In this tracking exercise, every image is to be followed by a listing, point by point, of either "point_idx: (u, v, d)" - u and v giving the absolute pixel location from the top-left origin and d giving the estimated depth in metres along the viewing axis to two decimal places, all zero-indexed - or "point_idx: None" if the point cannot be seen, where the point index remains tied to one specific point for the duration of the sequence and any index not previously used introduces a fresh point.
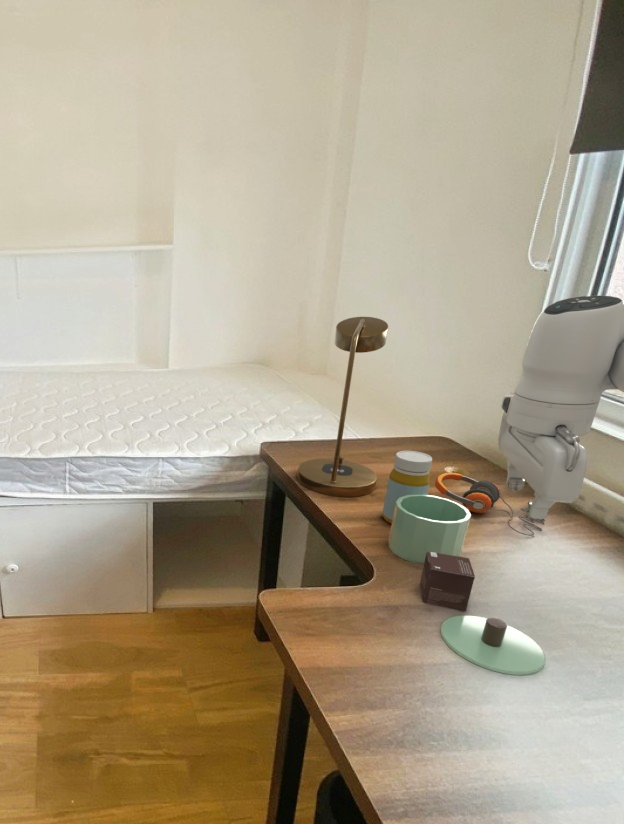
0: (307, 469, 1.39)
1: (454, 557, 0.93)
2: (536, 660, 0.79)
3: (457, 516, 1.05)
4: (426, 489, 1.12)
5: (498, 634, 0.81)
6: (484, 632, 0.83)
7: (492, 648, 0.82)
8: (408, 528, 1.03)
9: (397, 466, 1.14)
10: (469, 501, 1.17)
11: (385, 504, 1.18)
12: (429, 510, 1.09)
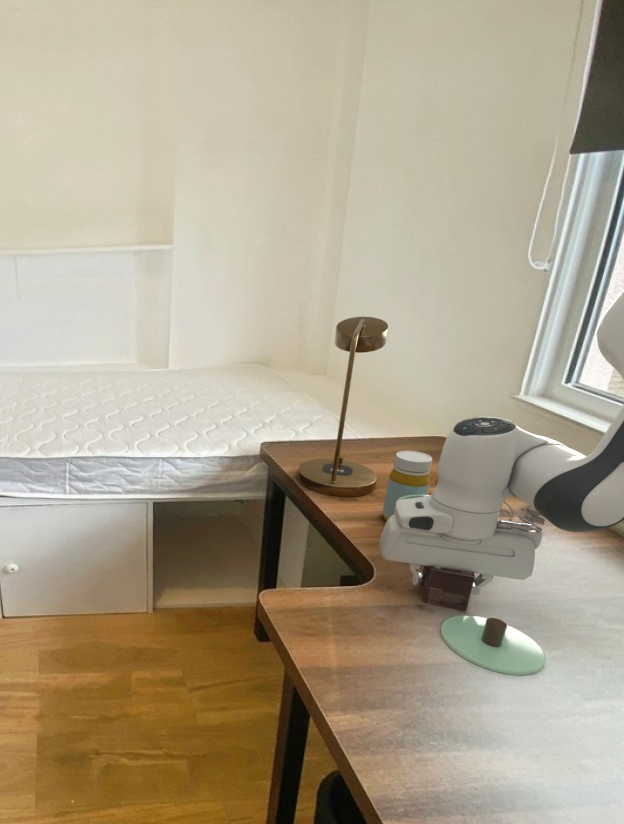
0: (307, 469, 1.39)
1: None
2: (536, 660, 0.79)
3: None
4: (426, 489, 1.12)
5: (498, 634, 0.81)
6: (484, 632, 0.83)
7: (492, 648, 0.82)
8: None
9: (397, 466, 1.14)
10: None
11: (385, 504, 1.18)
12: None
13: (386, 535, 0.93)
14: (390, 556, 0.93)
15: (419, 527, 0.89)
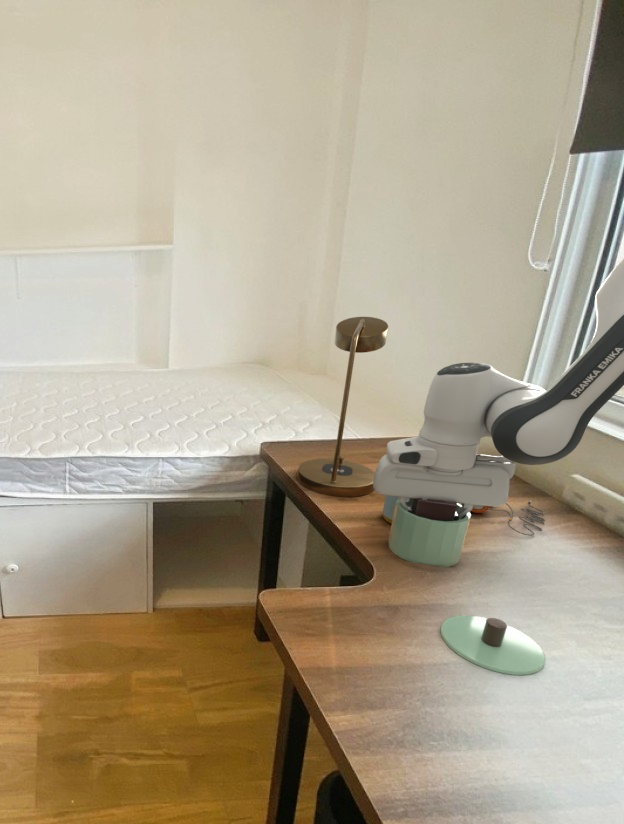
0: (307, 469, 1.39)
1: None
2: (536, 660, 0.79)
3: None
4: None
5: (498, 634, 0.81)
6: (484, 632, 0.83)
7: (492, 648, 0.82)
8: (408, 528, 1.03)
9: None
10: None
11: (385, 504, 1.18)
12: None
13: (379, 472, 1.05)
14: (382, 490, 1.05)
15: (408, 462, 1.00)
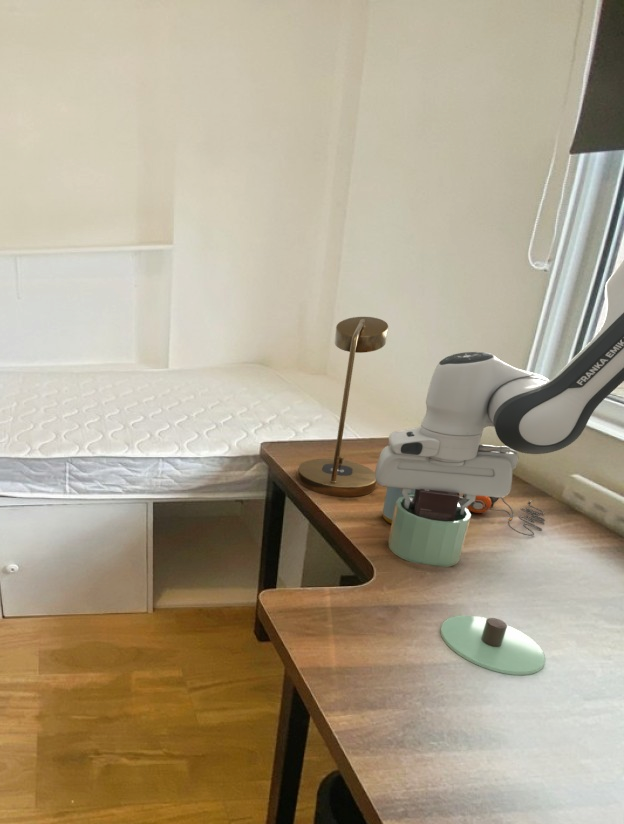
0: (307, 469, 1.39)
1: None
2: (536, 660, 0.79)
3: (457, 516, 1.05)
4: None
5: (498, 634, 0.81)
6: (484, 632, 0.83)
7: (492, 648, 0.82)
8: (408, 528, 1.03)
9: None
10: None
11: (385, 504, 1.18)
12: None
13: (380, 463, 1.04)
14: (384, 482, 1.04)
15: (410, 452, 0.99)
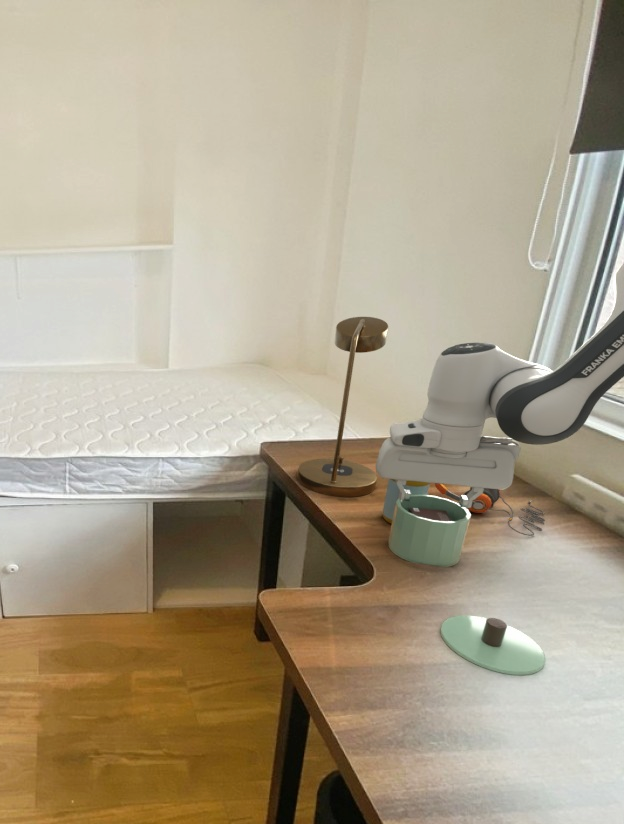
0: (307, 469, 1.39)
1: (433, 510, 1.06)
2: (536, 660, 0.79)
3: (457, 516, 1.05)
4: (426, 489, 1.12)
5: (498, 634, 0.81)
6: (484, 632, 0.83)
7: (492, 648, 0.82)
8: (408, 528, 1.03)
9: None
10: None
11: (385, 504, 1.18)
12: None
13: (381, 455, 1.04)
14: (385, 474, 1.04)
15: (411, 444, 0.99)
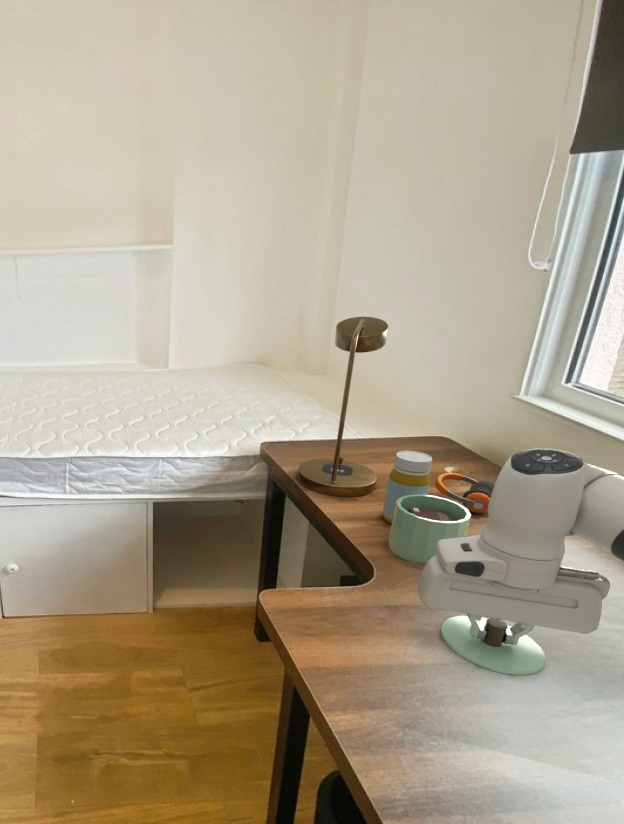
0: (307, 469, 1.39)
1: (433, 510, 1.06)
2: (536, 660, 0.79)
3: (457, 516, 1.05)
4: (426, 489, 1.12)
5: (499, 634, 0.81)
6: None
7: (492, 648, 0.82)
8: (408, 528, 1.03)
9: (397, 466, 1.14)
10: (469, 501, 1.17)
11: (385, 504, 1.18)
12: None
13: (427, 580, 0.83)
14: (432, 603, 0.83)
15: (467, 573, 0.78)
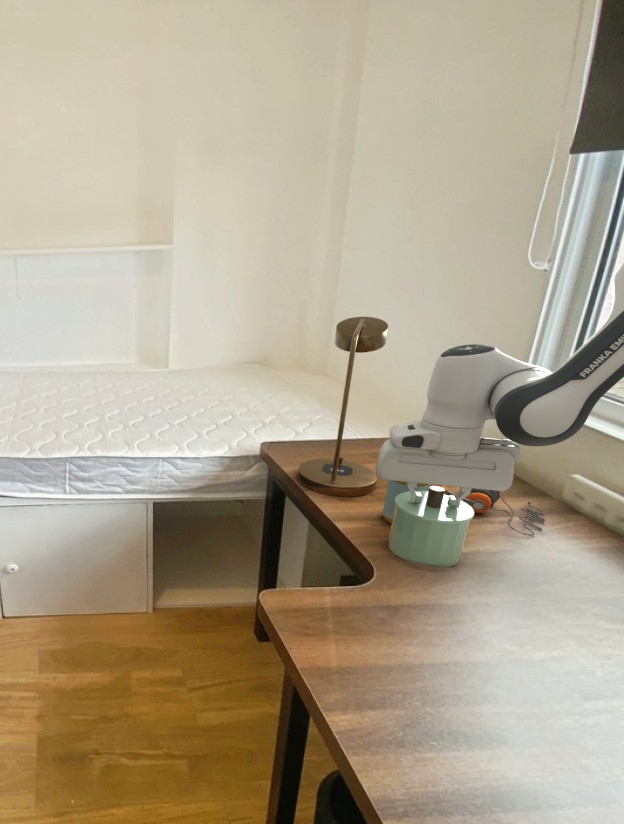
0: (307, 469, 1.39)
1: None
2: (467, 514, 1.00)
3: None
4: (426, 489, 1.12)
5: (438, 497, 1.02)
6: (427, 497, 1.04)
7: (433, 508, 1.03)
8: (408, 528, 1.03)
9: None
10: (469, 501, 1.17)
11: (385, 504, 1.18)
12: None
13: (381, 456, 1.04)
14: (385, 475, 1.04)
15: (411, 445, 0.99)
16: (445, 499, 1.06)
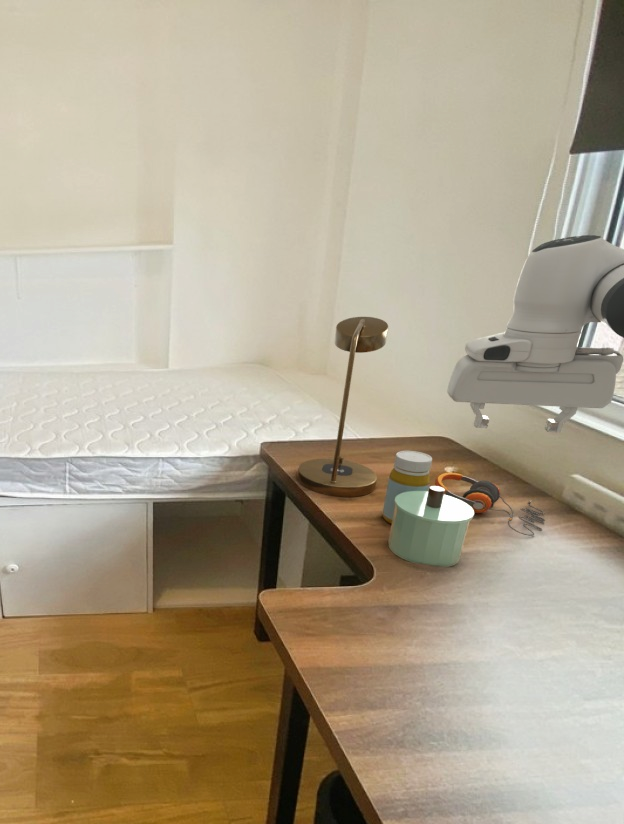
0: (307, 469, 1.39)
1: None
2: (467, 514, 1.00)
3: None
4: (426, 489, 1.12)
5: (438, 497, 1.02)
6: (427, 497, 1.04)
7: (433, 508, 1.03)
8: (408, 528, 1.03)
9: (397, 466, 1.14)
10: (469, 501, 1.17)
11: (385, 504, 1.18)
12: None
13: (457, 375, 0.92)
14: (461, 396, 0.92)
15: (494, 358, 0.87)
16: (445, 499, 1.06)
